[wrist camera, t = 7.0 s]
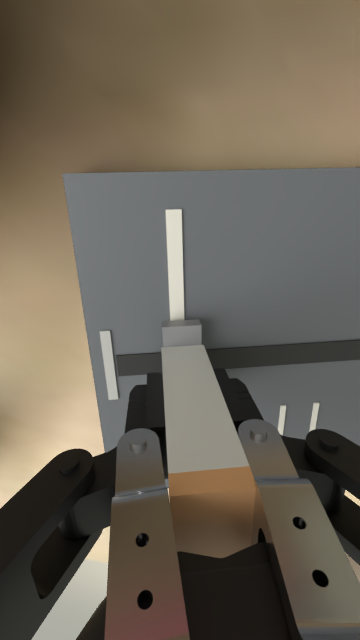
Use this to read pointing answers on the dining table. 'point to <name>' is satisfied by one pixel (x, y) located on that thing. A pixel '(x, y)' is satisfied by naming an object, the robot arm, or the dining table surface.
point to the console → (225, 285)
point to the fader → (202, 451)
